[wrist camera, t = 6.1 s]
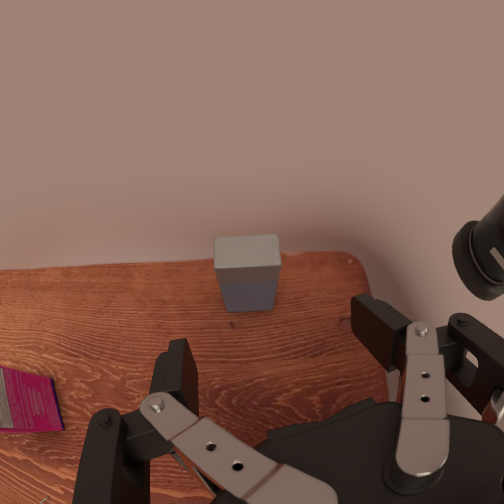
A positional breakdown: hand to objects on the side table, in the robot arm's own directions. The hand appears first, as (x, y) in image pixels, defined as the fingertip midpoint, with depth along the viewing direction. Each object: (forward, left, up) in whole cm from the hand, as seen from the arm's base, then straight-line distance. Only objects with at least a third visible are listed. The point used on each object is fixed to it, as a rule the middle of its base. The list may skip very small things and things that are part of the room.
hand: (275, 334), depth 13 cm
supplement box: (+23, +6, -11) cm, 26 cm away
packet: (+1, -6, -11) cm, 13 cm away
